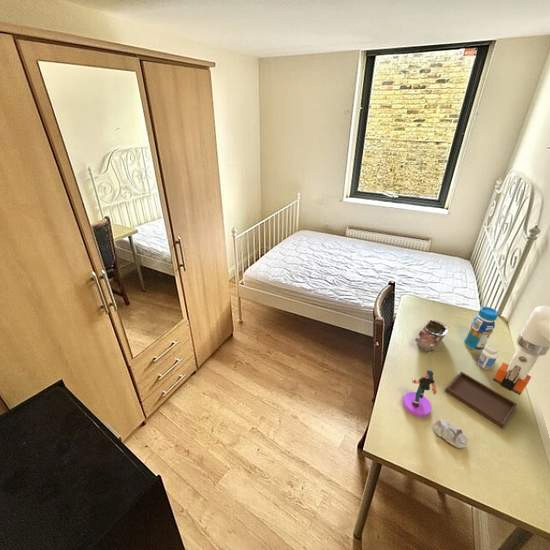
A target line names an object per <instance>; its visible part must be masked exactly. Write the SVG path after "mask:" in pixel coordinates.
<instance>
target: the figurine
mask: <svg viewBox="0 0 550 550" xmlns="http://www.w3.org/2000/svg"><path fill="white" fill-rule="evenodd" d="M411 381H412V384H418V387H417V390H416V391H408V392H407V393H405V394H404V396H403V399H402V405H403V407H404V409H405V411H407V413H409V414H411V415H412V416H414V417H416V418H427V417H428V416H429V415H430V413H431V411H432V404H431V403H430V400H429V399H428V398H427V397H426V396H425V391H430V390H431V392H432V394H433V395H434V396H435V395H436V394H437V393H438V389H437V386H436V385H437V384H436V381H435V380H434V371H433V370H432V369H427V370H426V372H425V374H424V376H422V377H421V378H419V379H418V380H417V379H416V378H413V377H412V378H411ZM430 386H432V387H430ZM431 388H432V389H431Z"/></svg>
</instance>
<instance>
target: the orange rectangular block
mask: <svg viewBox="0 0 550 550" xmlns="http://www.w3.org/2000/svg"><path fill="white" fill-rule="evenodd" d="M508 366H509V364H508V363H506V362H502V363H501V364H500V366H499V367H498V369H497V370H496V372H495V373H494V376H493V377H492V379H491V381H494V382H495V383H497V384H498V385H500V384H501V382H502V381H503V379H504V377H505V376H507V374H508V373H509V372H507V369H508ZM512 371H513V370H512ZM517 374H519V373H517ZM510 375H511V373H510ZM515 378H516V376H515ZM531 379H532V376H531V375H529V374H528V375H527V376H526V378H525V379H524V380H522V379H520V378H518V379H517V381H516V382H517V383H516V384H515V386H514V387H513V389H512V391H511V392H513V393H515V394H517V396H520V395H521V394H522V393H523V391H524V390H525V388H526V387H527V386H528V384H529V382H530V381H531Z"/></svg>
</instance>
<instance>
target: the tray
mask: <svg viewBox="0 0 550 550" xmlns="http://www.w3.org/2000/svg"><path fill="white" fill-rule="evenodd" d="M444 392H445V393H447V394H448V395H450V396H451V397H453V398H454V399H456V400H458V401H459V402H460V403H462V404H463V405H465V406H467V407H468V408H470V409H471V410H473V411H475V412H476V413H477V414H479V415H480V416H481V417H483V418H485V419H486V420H488V421H490V422H491V423H493V424H494V425H496V426H497V427H499V428H500V429H504V427H505V426H506V424H507V422H508V421H509V419H510V417H511V416H512V414H513V412H514V411H515V409H516V408H517V405H518V403H516V402H514V401H513V400H511V399H509V398H507V397H506V396H504V395H503V394H501V393H499V392H497V391H496V390H494V389H492V388H491V387H488V386H487V385H485V384H484V383H482V382H480V381H479V380H477V379H475V378H474V377H472V376H470V375H469V374H466V373H465V372H463V371H460V372H459V373H458V374H457V376H456V377H455V378H454V379H453V380H452V381H451V382H450V383H449V384H448V385H447V386H446V388H445V390H444Z"/></svg>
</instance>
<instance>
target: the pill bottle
mask: <svg viewBox="0 0 550 550" xmlns="http://www.w3.org/2000/svg"><path fill="white" fill-rule="evenodd" d="M498 352H499V349H498V348H497V347H496V346H494V345H491V344H488V345H486V346H485V348H484V349H483V350H481V353H480V355H479V357H478V359H477V362H476V363H477V365H478V367H480V368H481V369H483V370H487V371H488V370H491V369H492V368H493V367H494V365H495V363H496V361H497V359H498Z"/></svg>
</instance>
